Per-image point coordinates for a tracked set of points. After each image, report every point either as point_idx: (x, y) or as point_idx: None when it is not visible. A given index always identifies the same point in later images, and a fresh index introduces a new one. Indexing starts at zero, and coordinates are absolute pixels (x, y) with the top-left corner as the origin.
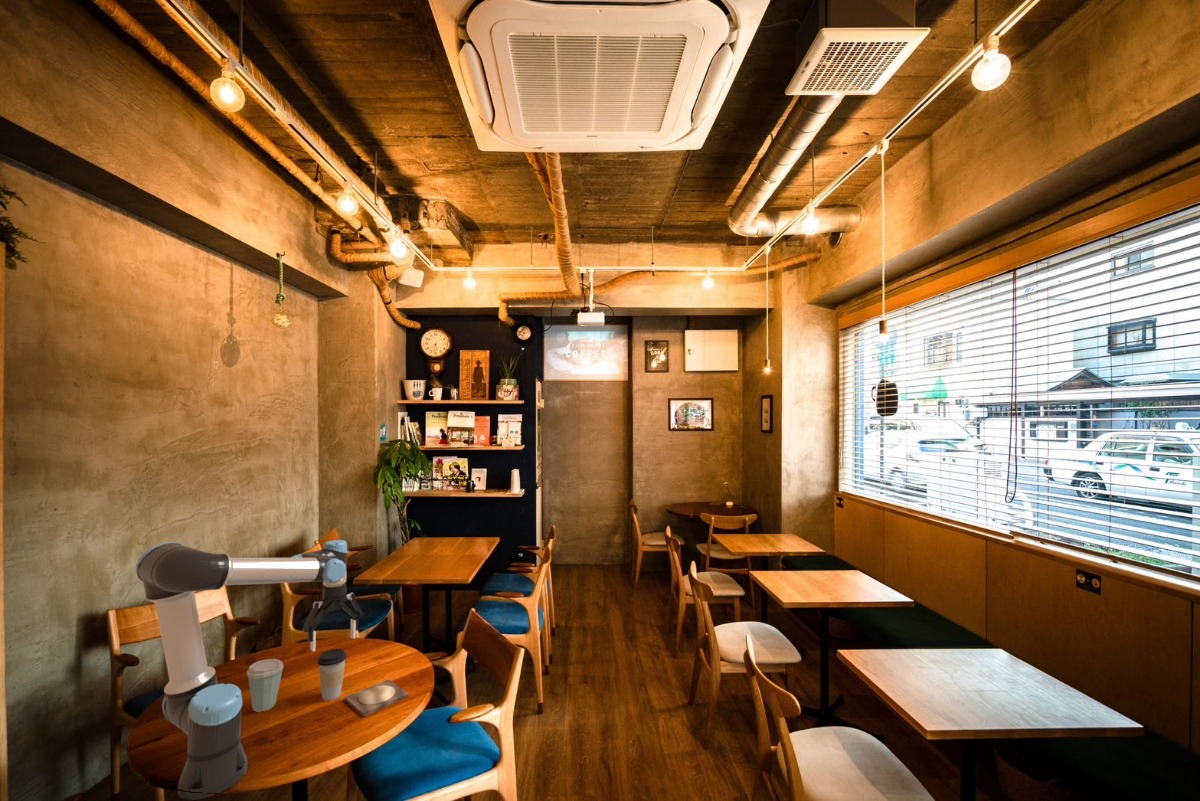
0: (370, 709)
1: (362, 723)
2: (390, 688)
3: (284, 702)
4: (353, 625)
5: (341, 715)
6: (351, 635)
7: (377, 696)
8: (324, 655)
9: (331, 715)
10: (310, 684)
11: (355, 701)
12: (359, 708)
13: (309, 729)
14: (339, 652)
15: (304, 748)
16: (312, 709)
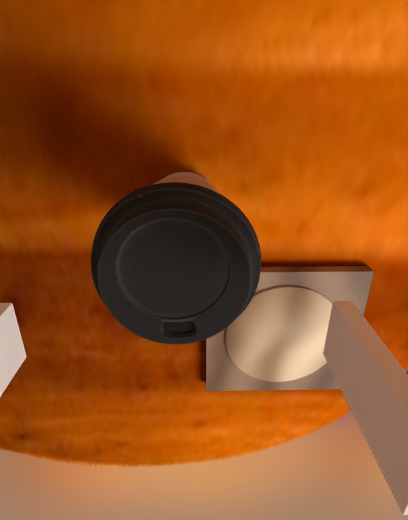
0: (229, 387)
1: (191, 403)
2: None
3: (25, 100)
4: (374, 454)
5: None
6: (336, 331)
7: (278, 348)
8: (129, 261)
9: None
10: (152, 4)
11: None
12: (209, 364)
13: (73, 340)
14: (219, 289)
15: (48, 402)
16: None
